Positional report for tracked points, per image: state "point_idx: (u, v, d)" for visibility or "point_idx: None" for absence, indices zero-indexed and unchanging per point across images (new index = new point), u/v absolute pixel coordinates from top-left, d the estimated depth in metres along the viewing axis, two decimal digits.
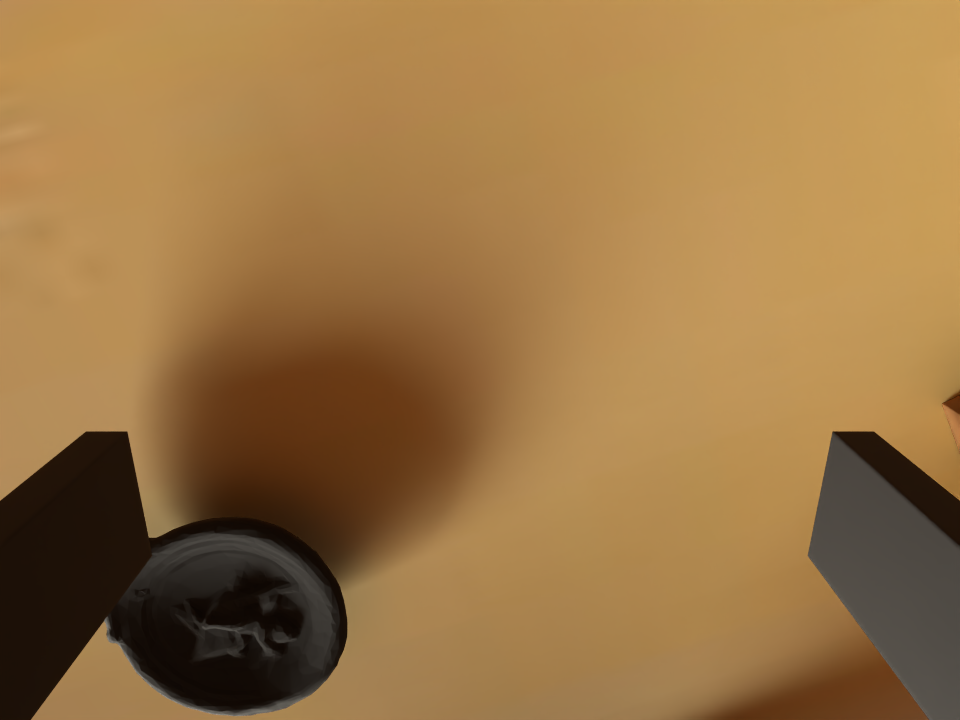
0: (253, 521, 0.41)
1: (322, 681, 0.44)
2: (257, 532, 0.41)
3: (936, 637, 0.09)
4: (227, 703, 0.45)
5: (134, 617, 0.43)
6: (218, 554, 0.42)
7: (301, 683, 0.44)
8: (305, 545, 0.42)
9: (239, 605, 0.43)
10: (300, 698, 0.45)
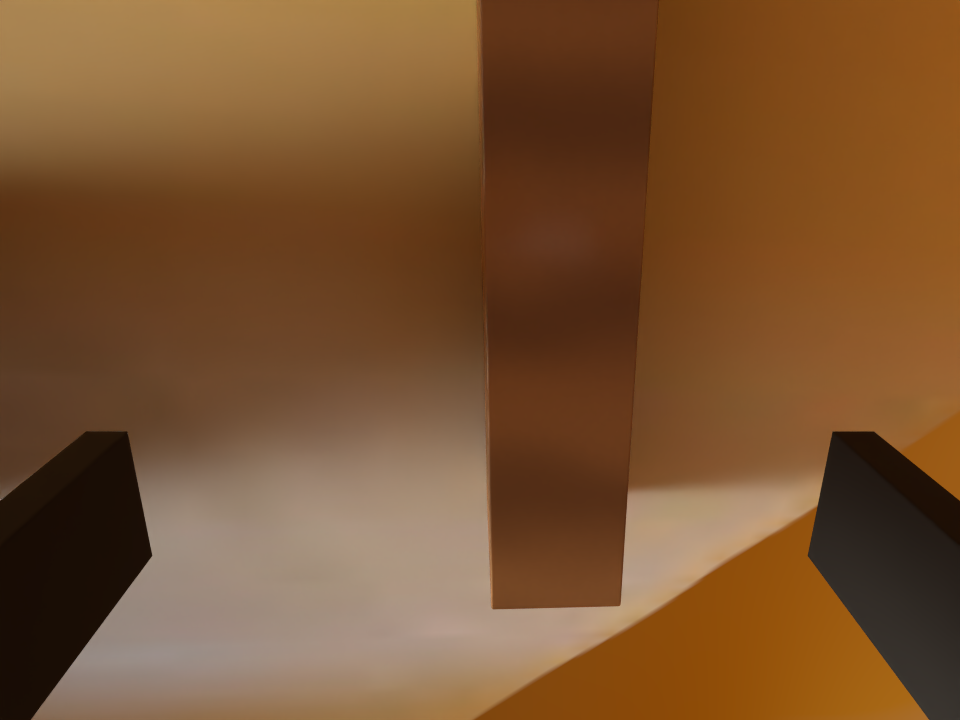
0: None
1: None
2: None
3: (936, 637, 0.09)
4: None
5: None
6: None
7: None
8: None
9: None
10: None
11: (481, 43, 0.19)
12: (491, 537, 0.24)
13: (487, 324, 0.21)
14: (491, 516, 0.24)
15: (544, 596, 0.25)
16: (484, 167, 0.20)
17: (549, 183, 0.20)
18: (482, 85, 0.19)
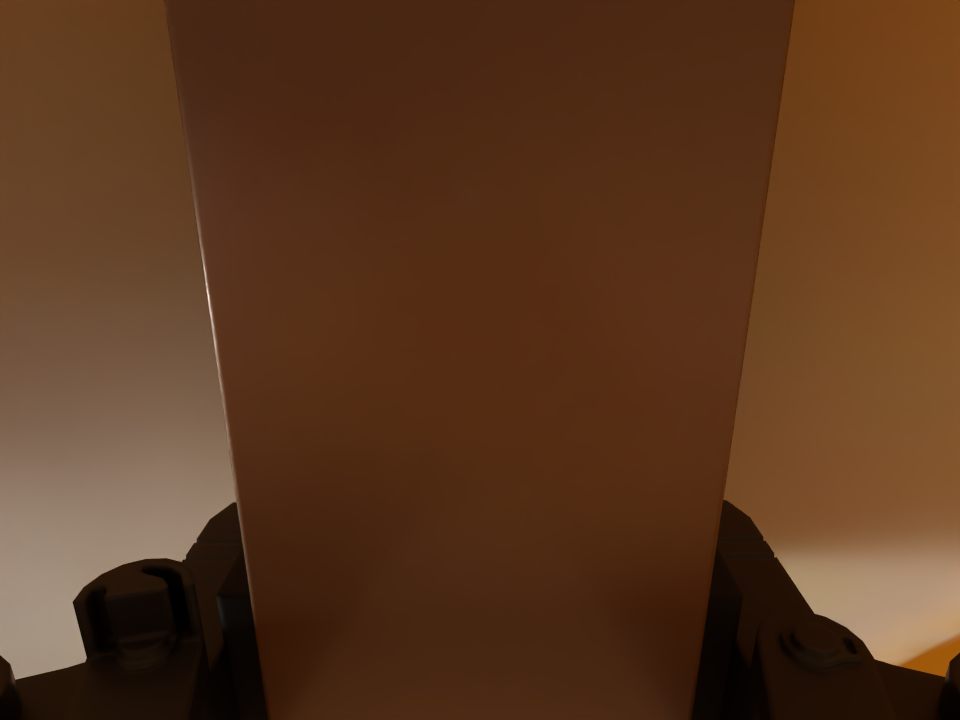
0: None
1: None
2: None
3: None
4: None
5: None
6: None
7: None
8: None
9: None
10: None
11: None
12: None
13: None
14: (268, 696, 0.08)
15: None
16: None
17: None
18: None
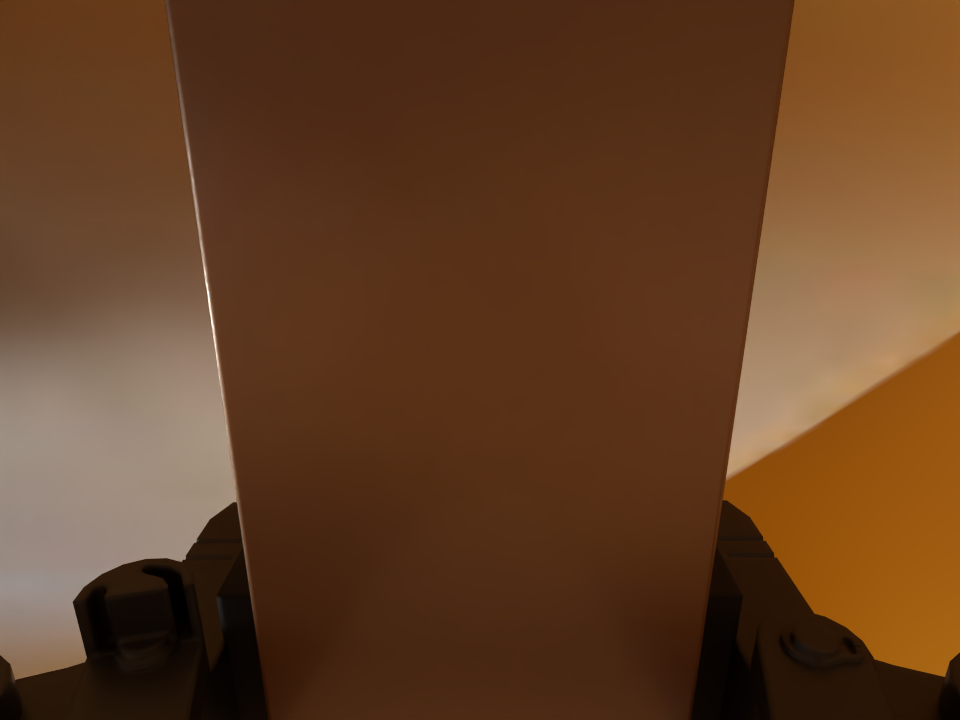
0: None
1: None
2: None
3: None
4: None
5: None
6: None
7: None
8: None
9: None
10: None
11: None
12: None
13: None
14: (268, 696, 0.08)
15: None
16: None
17: None
18: None
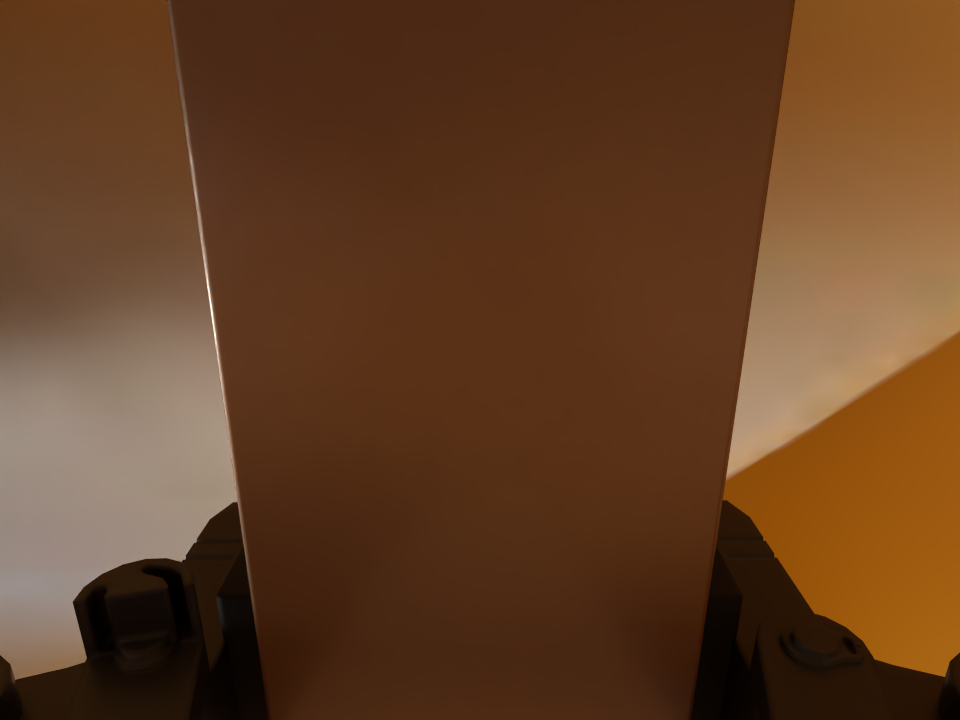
0: None
1: None
2: None
3: None
4: None
5: None
6: None
7: None
8: None
9: None
10: None
11: None
12: None
13: None
14: (269, 696, 0.08)
15: None
16: None
17: None
18: None
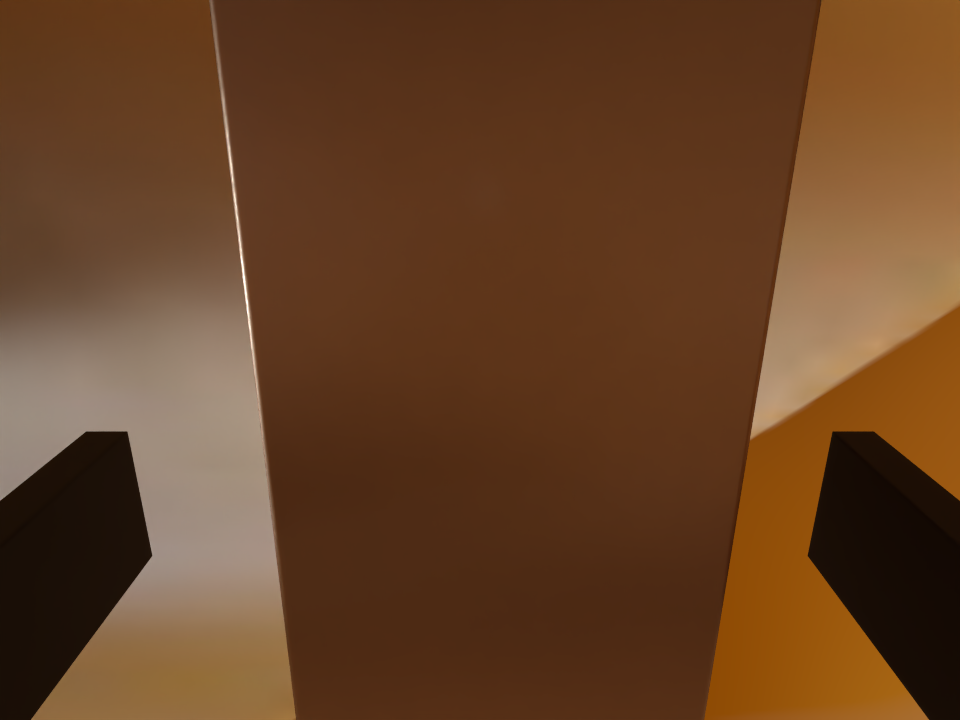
0: None
1: None
2: None
3: (936, 637, 0.09)
4: None
5: None
6: None
7: None
8: None
9: None
10: None
11: None
12: (295, 697, 0.08)
13: None
14: (290, 637, 0.08)
15: None
16: None
17: None
18: None
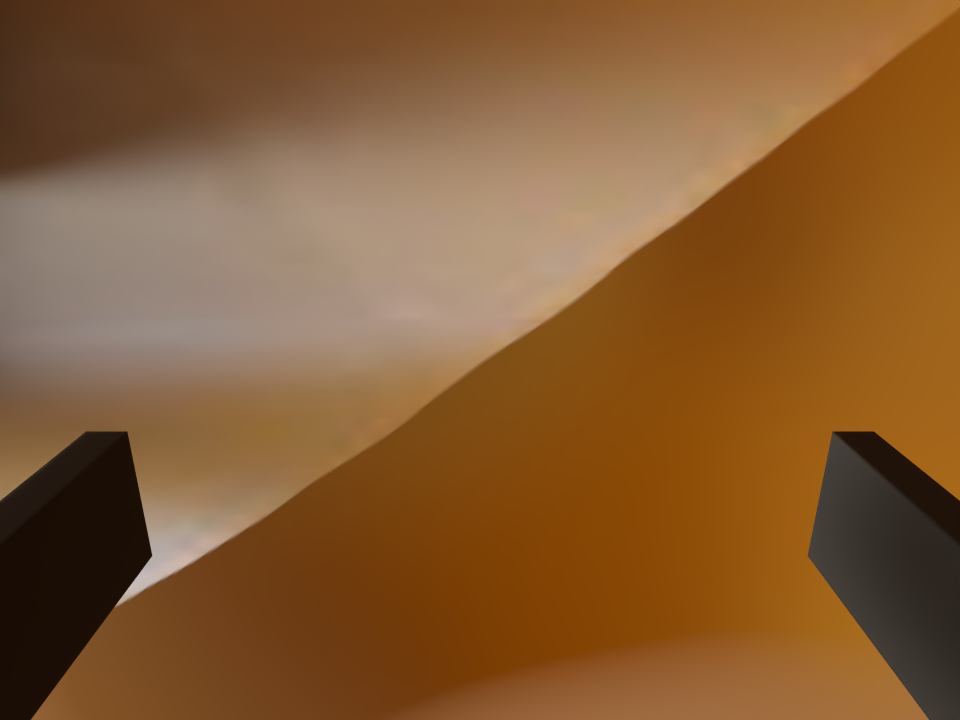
0: None
1: None
2: None
3: (936, 637, 0.09)
4: None
5: None
6: None
7: None
8: None
9: None
10: None
11: None
12: None
13: None
14: None
15: None
16: None
17: None
18: None
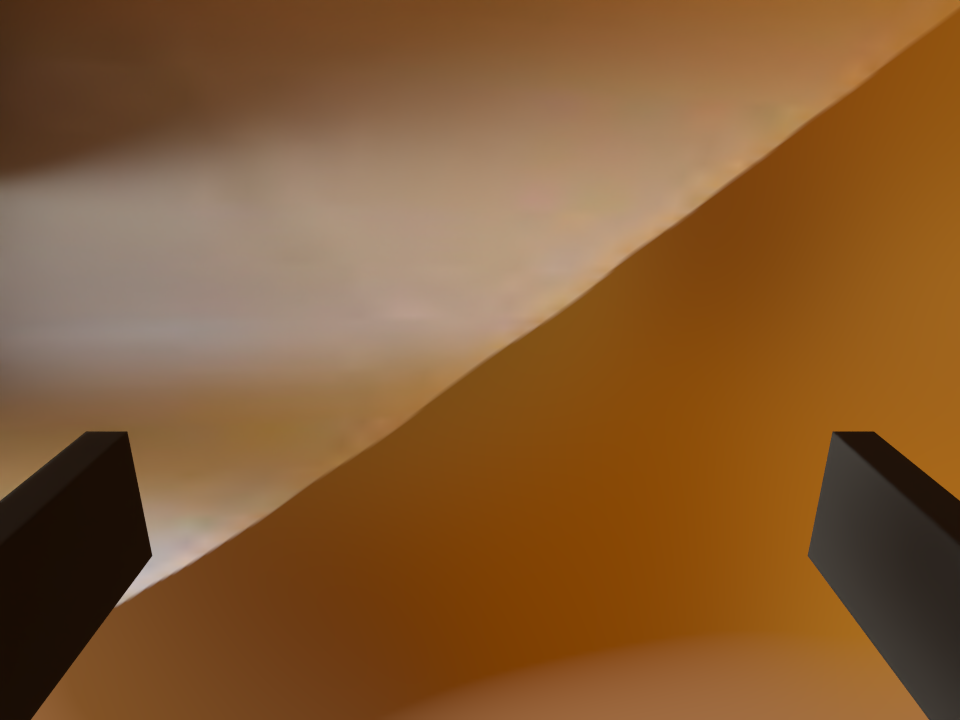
0: None
1: None
2: None
3: (936, 637, 0.09)
4: None
5: None
6: None
7: None
8: None
9: None
10: None
11: None
12: None
13: None
14: None
15: None
16: None
17: None
18: None
